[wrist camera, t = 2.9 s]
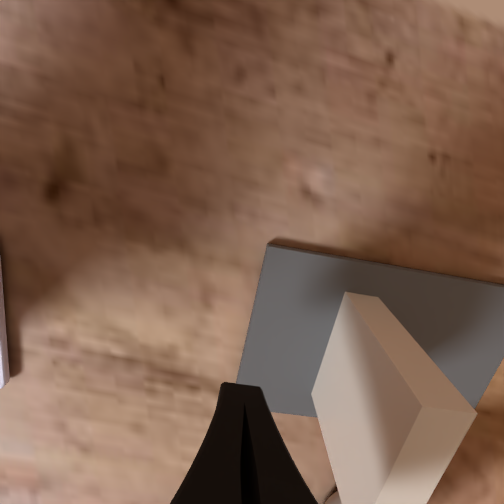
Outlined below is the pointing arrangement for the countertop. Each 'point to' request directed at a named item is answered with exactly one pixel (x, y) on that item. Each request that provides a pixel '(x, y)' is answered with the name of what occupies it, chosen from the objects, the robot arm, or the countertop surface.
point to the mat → (395, 299)
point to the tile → (385, 408)
